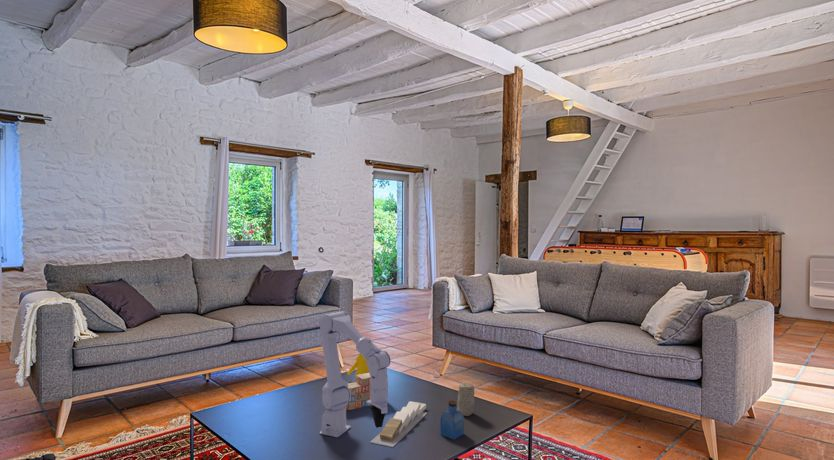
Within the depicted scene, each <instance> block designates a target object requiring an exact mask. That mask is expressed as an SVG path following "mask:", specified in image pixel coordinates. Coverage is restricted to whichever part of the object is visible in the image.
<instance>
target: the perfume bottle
mask: <svg viewBox="0 0 834 460" xmlns="http://www.w3.org/2000/svg"><path fill="white" fill-rule="evenodd" d="M457 402H458V401H456V400H448V402H447V403H448V404H447V409H446V410H445V411H444V412H442V415H441V416H440V419H439V420H440V425H439V426H440V427H439V428H440V431H439V432H440V434H439V435H440V436H443V437H445V438H448V439H451V440H456V439H458V438H460V437H461V436H463V435H464V434H465V416H463V415H462V413H461V412H460V411H459V410H458V406H457V405H458V403H457Z"/></svg>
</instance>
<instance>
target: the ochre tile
mask: <svg viewBox="0 0 834 460" xmlns="http://www.w3.org/2000/svg"><path fill="white" fill-rule="evenodd" d="M401 426H402V420H400V419H394V418H393V417H389V419H388V420H387V422H386V424H385V425H384V427H383V428H382V429H381V432H379V434H380V438H381V439H386V440H390V441H393V439H394V437H395V436H396V434H397V432H398V431H399V429H400V427H401Z"/></svg>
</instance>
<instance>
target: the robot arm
mask: <svg viewBox="0 0 834 460" xmlns="http://www.w3.org/2000/svg"><path fill="white" fill-rule="evenodd" d="M318 323H319V324H318V325H319V329H320V337H321V344H322V350H323V357H324V358H323V359H324V364H325V366H324V367H325V373H326V380H327V381H326V383H325V384H324V385H323V386H322V389H321V391H322V395H321V402H322V404H323V406H324V408H325V411H324V412H323V414H322V416H321V430H320V432H319V434H320V435H324V436H329V437H334V438H339V437H341V435H343V434H344V433H346V432H348V430H349V429H350V428H351V425H347V410H346V405H348V401H349V400H350V398H351V393H350V390H349V388H348V382H347V380H345V379H344V378H342V372H341V371H342V370H341V363H340V362H341V361H340V356H339V348H338V341H337V337H338V335H339V334H340V333H343V334H344V335H346V336H347V338H349V339H350V340H351V341H352V342H353V343H354V344H355V350H356V351H357V352H358V353H359V354H361V355H362V356H363V357H364V358H365V359H366V360H367V366H368V368H369V374H370V400H368V401H367V403H368V404H372V405H370V406H369V408H370V411H371V414H372V416H373V422H374V426H375V428H382V427H383V425H384V420H385V417H386V414H388V410H389V407H388V389H387V382H388V377H387V375H388V367H390V365H391V361H392V360H391V356H390V354H389V353H388V351H386V350H382V349H379V348H378V346H376V344H375V343H373V341H372V339H371V338H369V337H367V336H366V337H364V336H363V335H362V334H361V333H360V331H359V330H358V329H357V328H356V326H355V325H354V324H353V322H352V318H351V315H349V314H348V312H347V311H345V310H340V311H338V312H332V313H328V314H327V313H324V314H322V315H321V317H320V319H319V321H318Z"/></svg>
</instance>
